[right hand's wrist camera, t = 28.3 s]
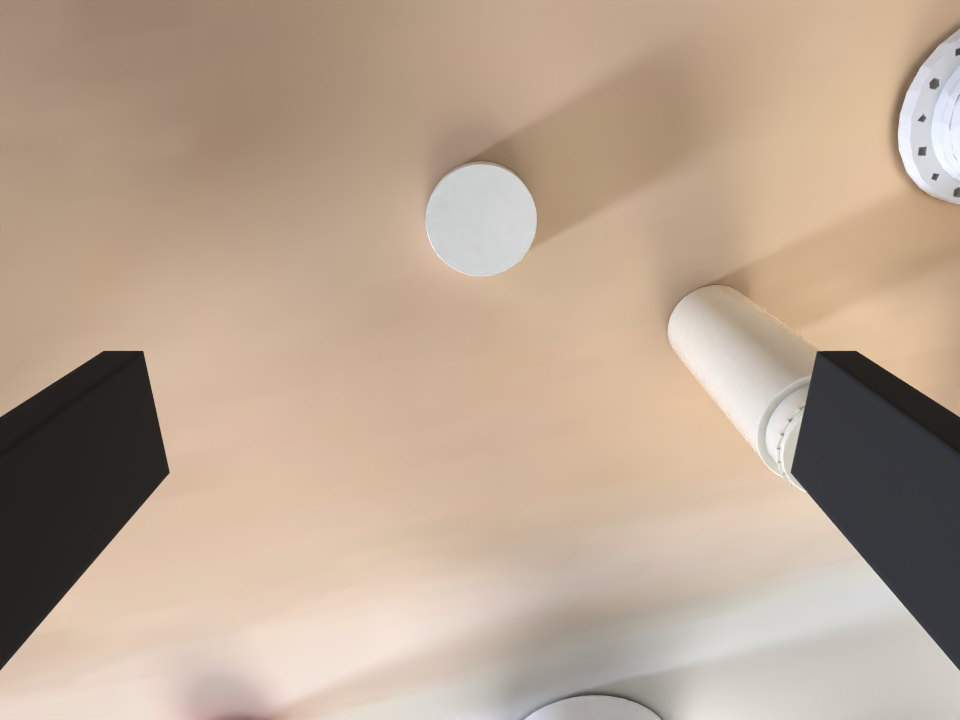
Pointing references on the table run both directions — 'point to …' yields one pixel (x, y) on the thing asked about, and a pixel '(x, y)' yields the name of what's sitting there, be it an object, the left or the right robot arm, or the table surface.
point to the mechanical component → (934, 124)
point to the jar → (747, 368)
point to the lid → (481, 219)
